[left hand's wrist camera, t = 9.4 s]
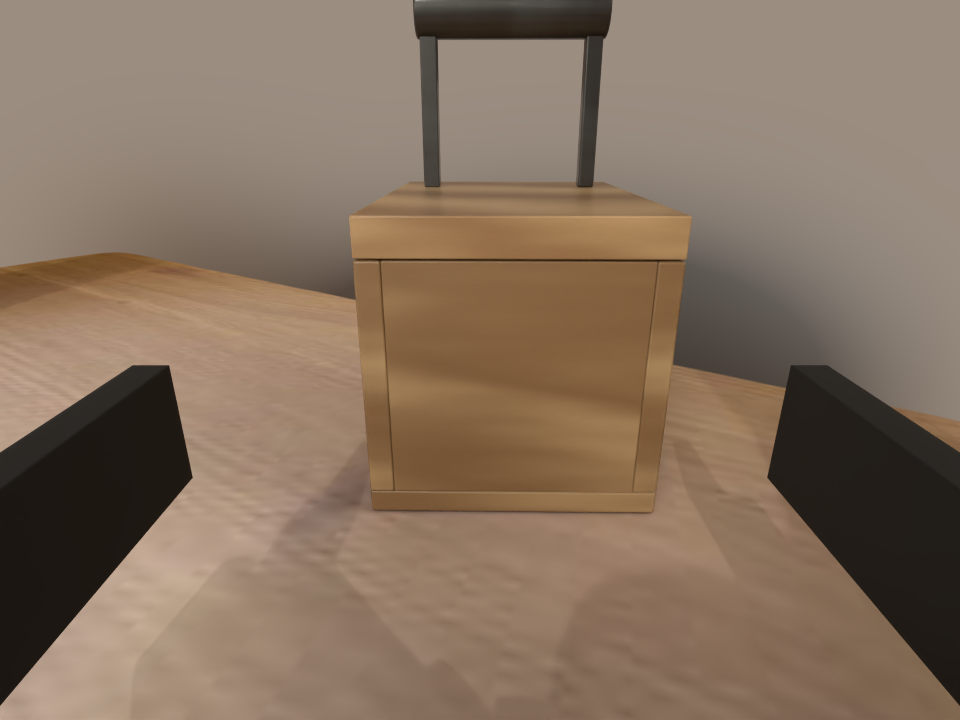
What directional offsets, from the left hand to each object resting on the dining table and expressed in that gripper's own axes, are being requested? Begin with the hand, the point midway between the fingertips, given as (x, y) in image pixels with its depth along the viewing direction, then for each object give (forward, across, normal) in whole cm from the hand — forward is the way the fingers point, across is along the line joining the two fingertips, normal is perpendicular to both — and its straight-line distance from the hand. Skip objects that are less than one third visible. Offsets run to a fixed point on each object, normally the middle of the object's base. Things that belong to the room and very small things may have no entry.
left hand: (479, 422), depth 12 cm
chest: (+12, +1, -7) cm, 14 cm away
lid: (+13, +1, +2) cm, 13 cm away
